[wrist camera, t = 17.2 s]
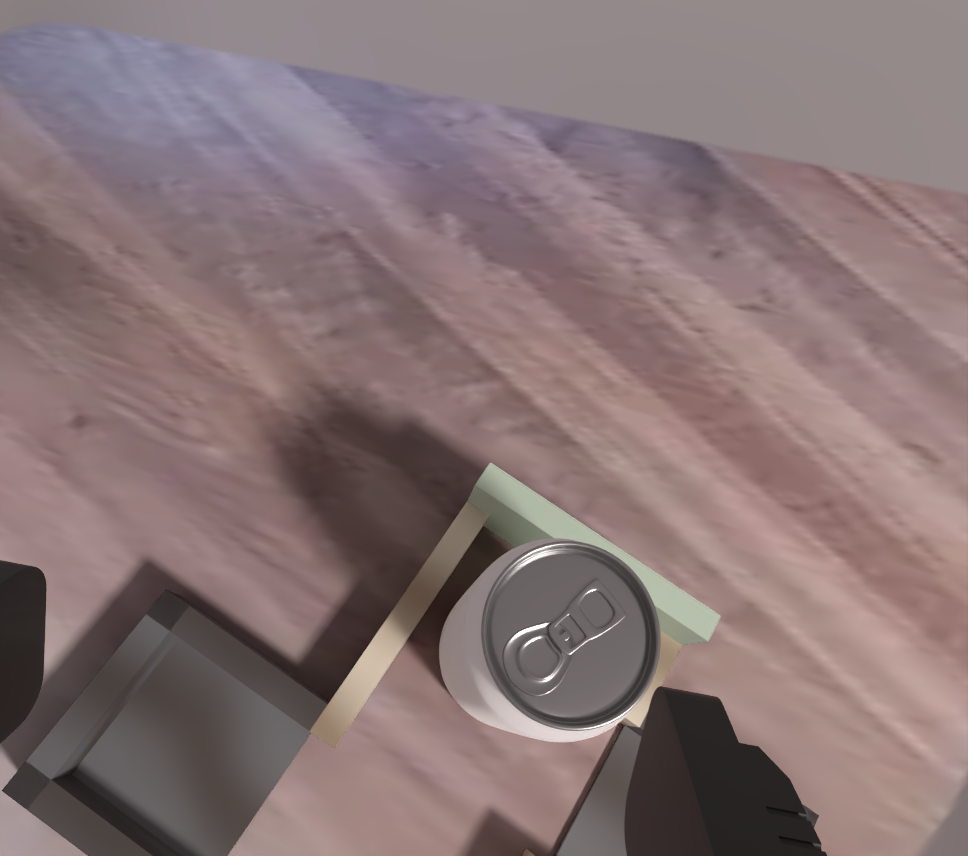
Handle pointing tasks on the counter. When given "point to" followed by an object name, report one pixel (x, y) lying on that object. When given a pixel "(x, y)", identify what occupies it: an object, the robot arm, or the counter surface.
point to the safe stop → (535, 518)
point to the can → (552, 642)
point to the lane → (244, 732)
